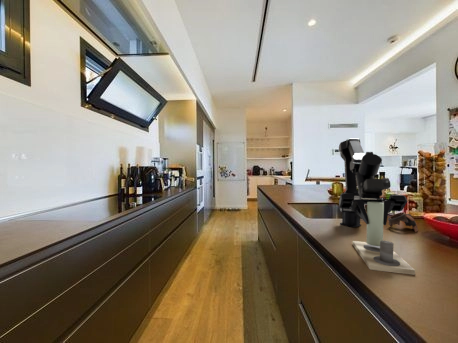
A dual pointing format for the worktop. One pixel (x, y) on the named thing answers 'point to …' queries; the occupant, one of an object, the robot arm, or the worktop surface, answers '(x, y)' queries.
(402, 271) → the board
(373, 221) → the sage pin
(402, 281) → the worktop surface
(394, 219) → the dark brown curved piece
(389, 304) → the worktop surface
